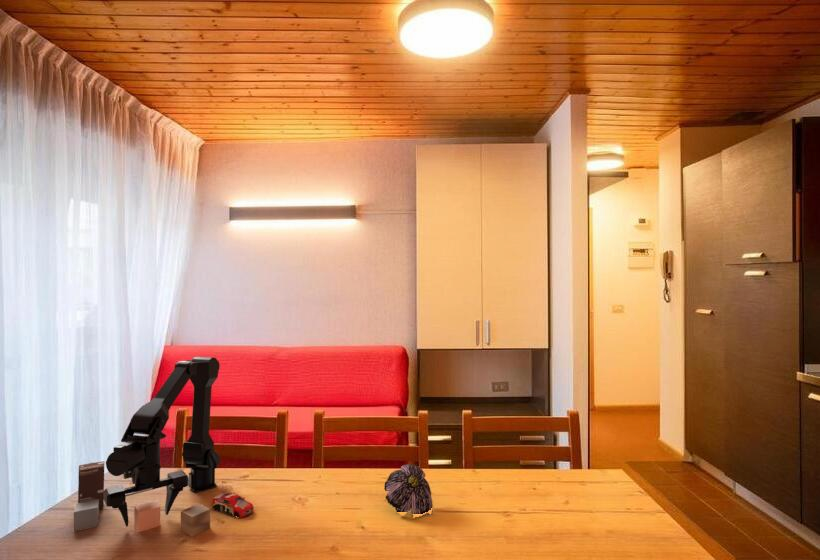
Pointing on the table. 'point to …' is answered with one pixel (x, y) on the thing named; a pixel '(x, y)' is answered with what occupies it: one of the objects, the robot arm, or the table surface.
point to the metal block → (195, 519)
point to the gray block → (86, 515)
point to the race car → (232, 504)
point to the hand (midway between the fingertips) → (147, 520)
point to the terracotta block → (146, 515)
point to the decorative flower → (409, 490)
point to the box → (91, 483)
